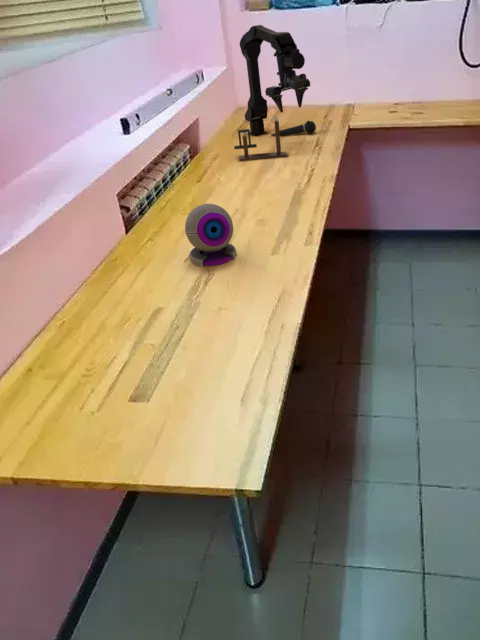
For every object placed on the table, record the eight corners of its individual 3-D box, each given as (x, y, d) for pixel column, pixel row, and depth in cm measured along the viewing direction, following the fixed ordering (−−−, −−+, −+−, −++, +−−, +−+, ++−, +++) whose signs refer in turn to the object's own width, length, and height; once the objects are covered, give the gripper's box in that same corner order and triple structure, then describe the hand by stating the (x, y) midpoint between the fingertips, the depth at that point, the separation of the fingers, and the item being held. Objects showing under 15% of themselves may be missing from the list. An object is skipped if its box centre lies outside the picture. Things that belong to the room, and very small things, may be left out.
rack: (238, 155, 253) (235, 119, 245) (285, 151, 254) (282, 115, 246) (239, 161, 246) (235, 124, 238) (287, 156, 247) (284, 120, 239)
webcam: (197, 270, 166) (188, 217, 157) (184, 253, 176) (176, 202, 167) (242, 260, 170) (236, 207, 161) (228, 243, 180) (221, 193, 171)
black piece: (234, 148, 250) (232, 130, 246) (256, 146, 250) (254, 128, 246) (234, 149, 249) (232, 131, 245) (256, 147, 249) (255, 129, 245)
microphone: (272, 144, 274) (317, 135, 272) (270, 132, 270) (315, 123, 268) (272, 137, 277) (315, 128, 276) (269, 126, 273) (314, 116, 271)
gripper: (277, 73, 234) (283, 116, 242) (316, 63, 242) (321, 105, 250) (261, 73, 242) (268, 114, 250) (299, 63, 250) (304, 104, 258)
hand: (291, 109), depth 252 cm, fingers open, 9 cm apart
